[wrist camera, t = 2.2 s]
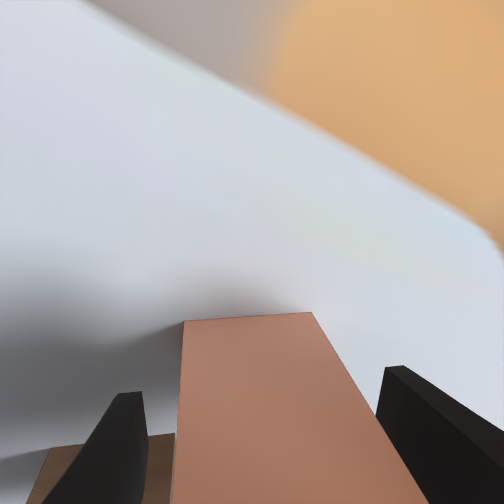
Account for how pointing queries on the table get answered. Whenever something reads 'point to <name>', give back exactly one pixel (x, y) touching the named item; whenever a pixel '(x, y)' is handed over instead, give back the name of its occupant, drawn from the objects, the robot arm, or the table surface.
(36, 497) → the walnut domino
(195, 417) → the terracotta domino
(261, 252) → the table surface
